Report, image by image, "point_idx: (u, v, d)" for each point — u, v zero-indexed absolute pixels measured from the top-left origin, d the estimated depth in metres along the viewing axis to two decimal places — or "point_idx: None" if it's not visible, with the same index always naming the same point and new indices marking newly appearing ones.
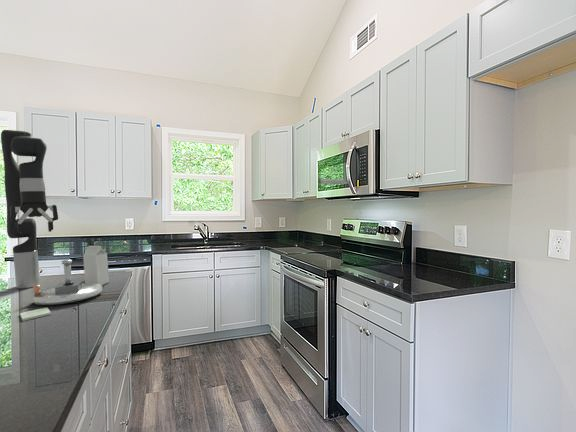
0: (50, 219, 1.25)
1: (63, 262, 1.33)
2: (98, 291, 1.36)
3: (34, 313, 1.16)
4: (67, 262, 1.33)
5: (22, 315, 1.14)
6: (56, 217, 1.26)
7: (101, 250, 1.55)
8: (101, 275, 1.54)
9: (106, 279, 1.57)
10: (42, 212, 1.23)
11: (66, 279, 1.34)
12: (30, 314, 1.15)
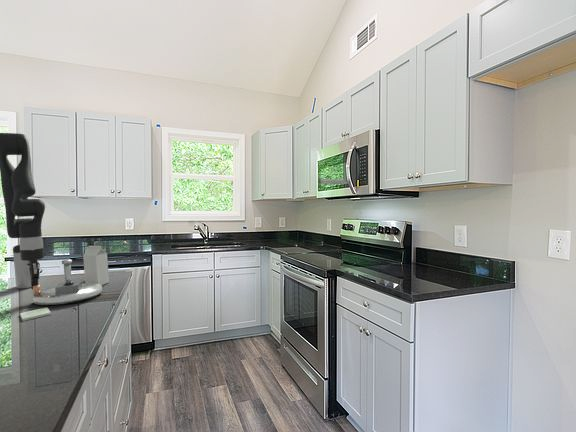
0: None
1: (63, 262, 1.33)
2: (98, 291, 1.36)
3: (34, 313, 1.16)
4: (67, 262, 1.33)
5: (22, 315, 1.14)
6: None
7: (101, 250, 1.55)
8: (101, 275, 1.54)
9: (106, 279, 1.57)
10: None
11: (66, 279, 1.34)
12: (30, 314, 1.15)
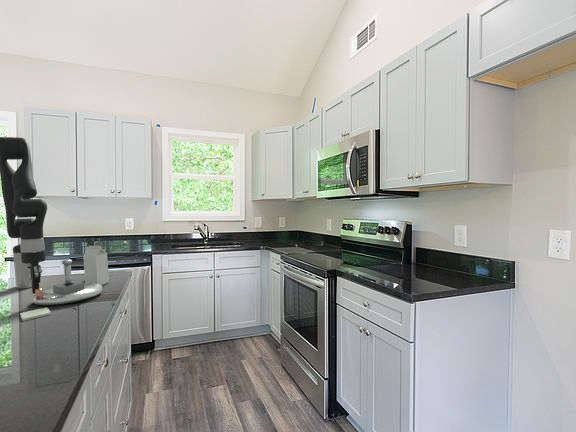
0: None
1: (66, 262, 1.33)
2: None
3: (34, 313, 1.16)
4: (70, 261, 1.34)
5: (22, 315, 1.14)
6: None
7: (101, 250, 1.55)
8: (101, 275, 1.54)
9: (106, 279, 1.57)
10: None
11: (68, 279, 1.34)
12: (30, 314, 1.15)
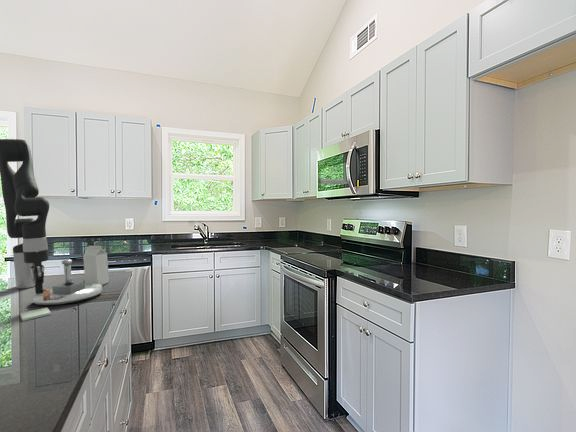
0: None
1: (68, 262, 1.33)
2: None
3: (34, 313, 1.16)
4: (71, 261, 1.35)
5: (22, 315, 1.14)
6: None
7: (101, 250, 1.55)
8: (101, 275, 1.54)
9: (106, 279, 1.57)
10: None
11: (69, 279, 1.34)
12: (30, 314, 1.15)
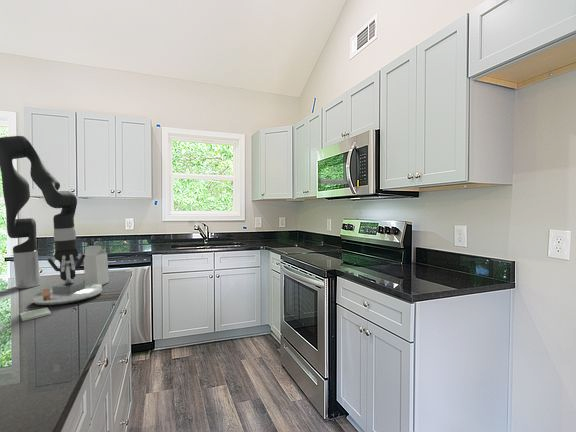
0: None
1: (68, 262, 1.33)
2: None
3: (34, 313, 1.16)
4: None
5: (22, 315, 1.14)
6: None
7: (101, 250, 1.55)
8: (101, 275, 1.54)
9: (106, 279, 1.57)
10: None
11: (69, 279, 1.34)
12: (30, 314, 1.15)
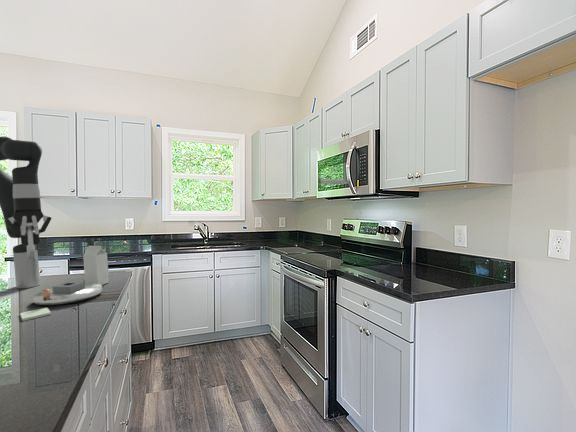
0: None
1: (30, 224, 1.13)
2: None
3: (34, 313, 1.16)
4: None
5: (22, 315, 1.14)
6: None
7: (101, 250, 1.55)
8: (101, 275, 1.54)
9: (106, 279, 1.57)
10: None
11: (32, 244, 1.14)
12: (30, 314, 1.15)
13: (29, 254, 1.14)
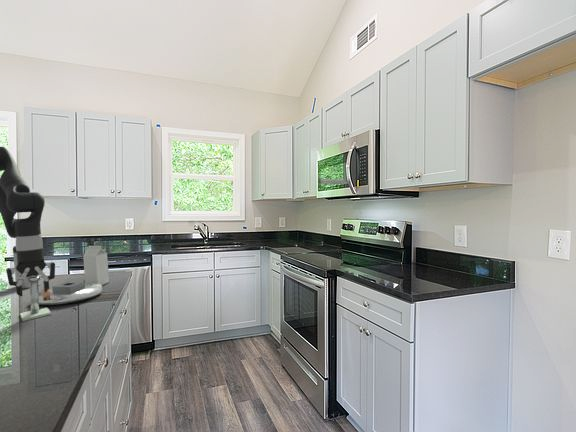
0: None
1: (35, 279, 1.14)
2: None
3: None
4: (39, 278, 1.16)
5: (22, 315, 1.14)
6: None
7: (101, 250, 1.55)
8: (101, 275, 1.54)
9: (106, 279, 1.57)
10: None
11: (36, 298, 1.15)
12: (30, 314, 1.15)
13: (33, 308, 1.15)
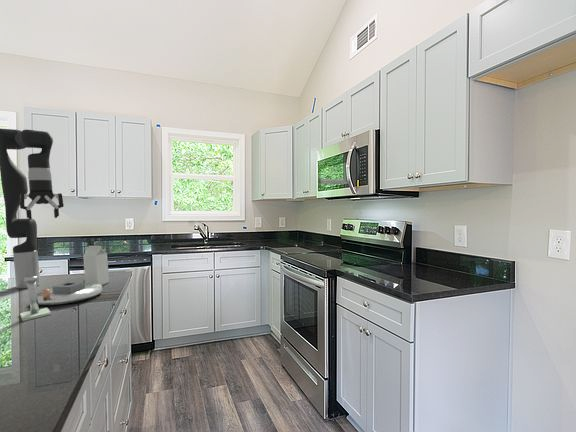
0: None
1: (32, 279, 1.14)
2: None
3: None
4: (36, 278, 1.16)
5: (22, 315, 1.14)
6: None
7: (101, 250, 1.55)
8: (101, 275, 1.54)
9: (106, 279, 1.57)
10: None
11: (34, 298, 1.15)
12: (30, 314, 1.15)
13: (32, 309, 1.15)
